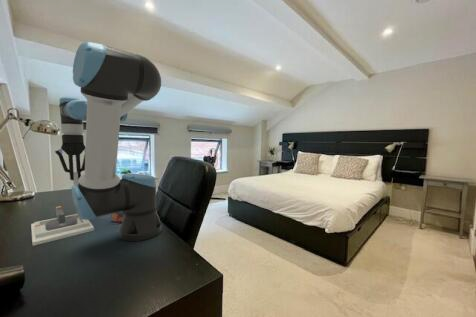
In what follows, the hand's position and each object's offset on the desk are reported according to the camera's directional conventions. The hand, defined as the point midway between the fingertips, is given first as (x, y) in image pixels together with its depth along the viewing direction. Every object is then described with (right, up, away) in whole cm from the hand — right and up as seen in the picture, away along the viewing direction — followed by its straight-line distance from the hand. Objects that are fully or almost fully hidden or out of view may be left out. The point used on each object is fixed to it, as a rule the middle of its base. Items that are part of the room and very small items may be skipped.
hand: (76, 186), depth 97 cm
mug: (+21, -15, +3) cm, 26 cm away
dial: (-1, -14, -7) cm, 16 cm away
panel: (+1, -16, -9) cm, 18 cm away
